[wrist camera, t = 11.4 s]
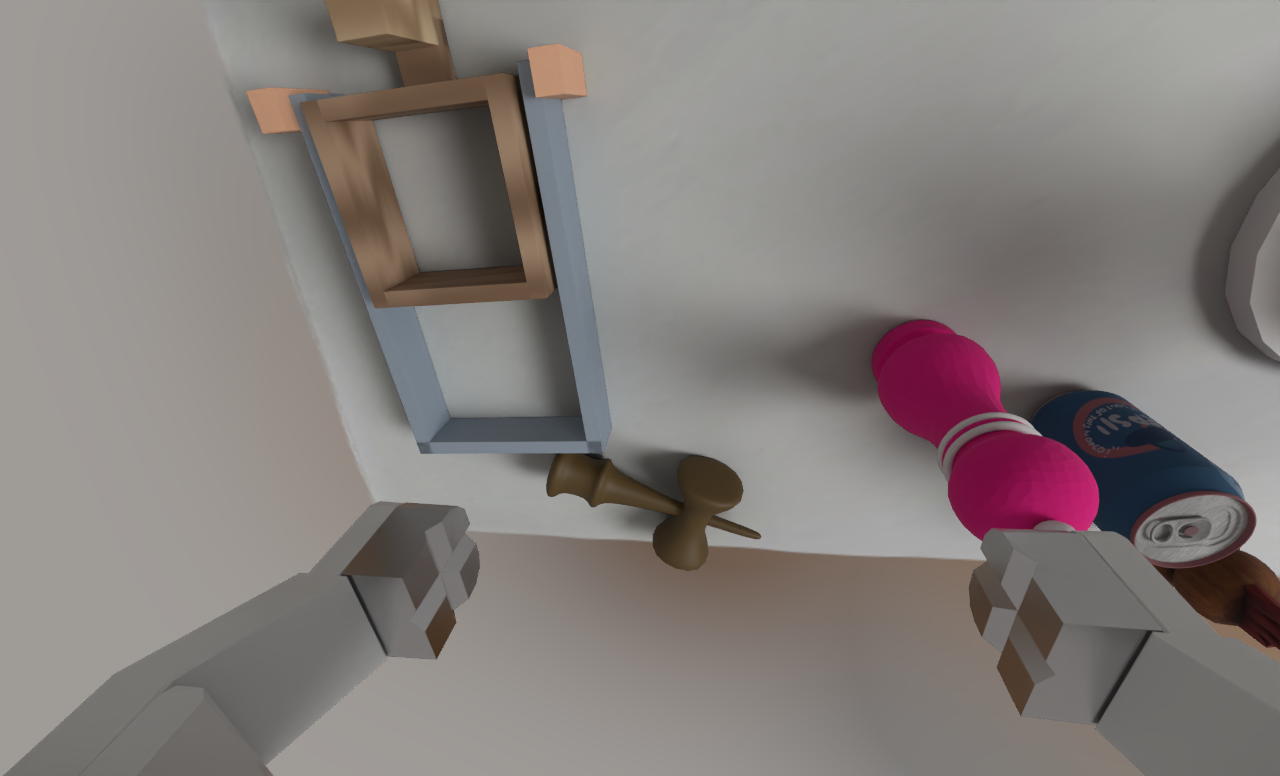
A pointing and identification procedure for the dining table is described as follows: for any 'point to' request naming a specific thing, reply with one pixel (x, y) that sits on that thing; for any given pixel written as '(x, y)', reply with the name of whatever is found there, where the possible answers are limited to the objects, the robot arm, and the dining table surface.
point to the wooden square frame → (358, 176)
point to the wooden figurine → (1233, 594)
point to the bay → (398, 327)
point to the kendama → (660, 501)
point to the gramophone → (1258, 272)
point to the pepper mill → (980, 435)
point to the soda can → (1150, 480)
